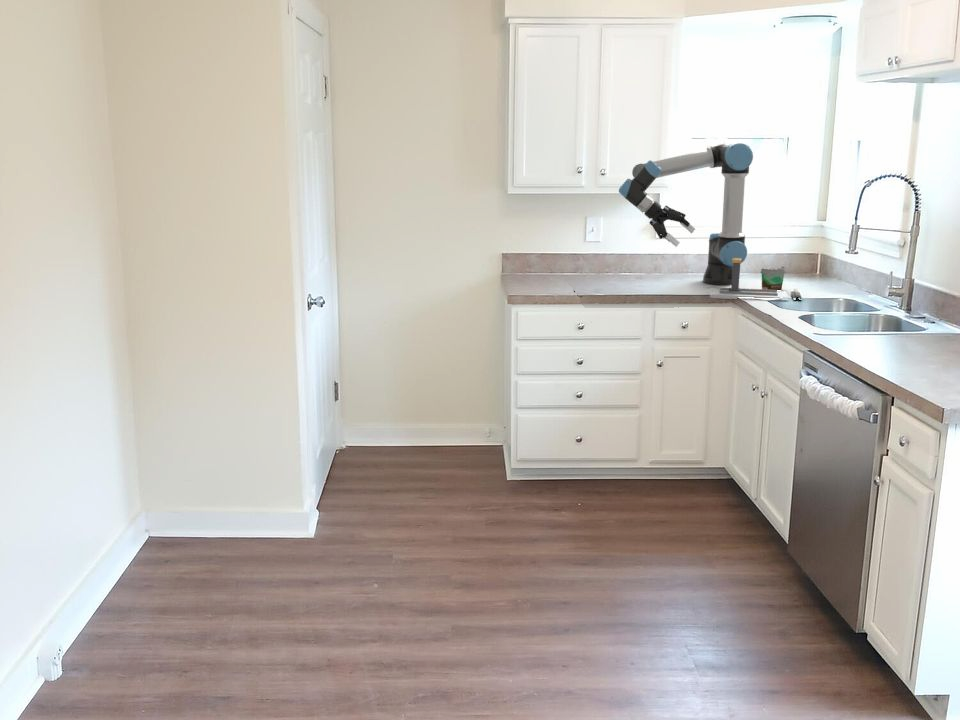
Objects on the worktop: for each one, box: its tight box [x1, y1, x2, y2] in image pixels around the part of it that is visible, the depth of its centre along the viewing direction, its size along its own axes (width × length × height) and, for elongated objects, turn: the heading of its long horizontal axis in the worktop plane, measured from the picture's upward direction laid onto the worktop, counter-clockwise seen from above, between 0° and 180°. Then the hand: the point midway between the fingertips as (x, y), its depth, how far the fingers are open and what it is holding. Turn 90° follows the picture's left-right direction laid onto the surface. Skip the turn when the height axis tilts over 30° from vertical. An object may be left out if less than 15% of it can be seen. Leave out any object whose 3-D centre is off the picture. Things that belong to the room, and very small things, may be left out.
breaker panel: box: [709, 287, 789, 300], centre depth 382 cm, size 14×32×2 cm, turn 75°
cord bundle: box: [790, 288, 802, 299], centre depth 378 cm, size 13×4×3 cm, turn 165°
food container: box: [760, 266, 787, 291], centre depth 392 cm, size 12×6×10 cm, turn 112°
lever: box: [728, 258, 742, 292], centre depth 381 cm, size 5×5×14 cm
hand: (685, 238), depth 388 cm, fingers open, 13 cm apart
